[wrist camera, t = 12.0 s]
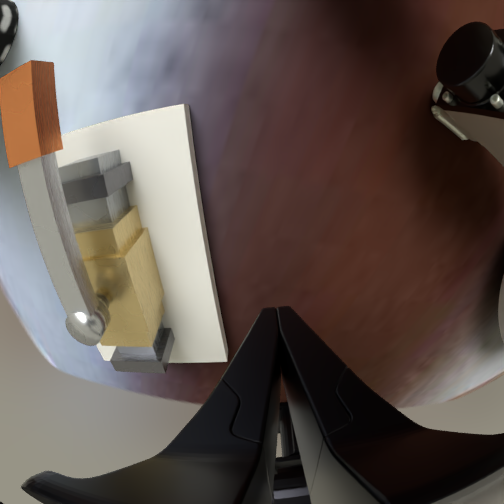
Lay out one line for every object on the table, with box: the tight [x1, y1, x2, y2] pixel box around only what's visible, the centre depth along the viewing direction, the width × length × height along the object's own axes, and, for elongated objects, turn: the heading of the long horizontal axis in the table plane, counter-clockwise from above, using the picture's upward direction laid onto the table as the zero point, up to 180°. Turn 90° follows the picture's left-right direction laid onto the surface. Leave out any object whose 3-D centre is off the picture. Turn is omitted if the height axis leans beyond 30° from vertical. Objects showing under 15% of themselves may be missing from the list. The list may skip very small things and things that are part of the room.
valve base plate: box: [55, 104, 228, 363], centre depth 21 cm, size 20×12×2 cm, turn 5°
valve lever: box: [0, 60, 111, 346], centre depth 12 cm, size 14×2×3 cm, turn 5°
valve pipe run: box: [58, 149, 175, 373], centre depth 18 cm, size 16×5×4 cm, turn 5°
